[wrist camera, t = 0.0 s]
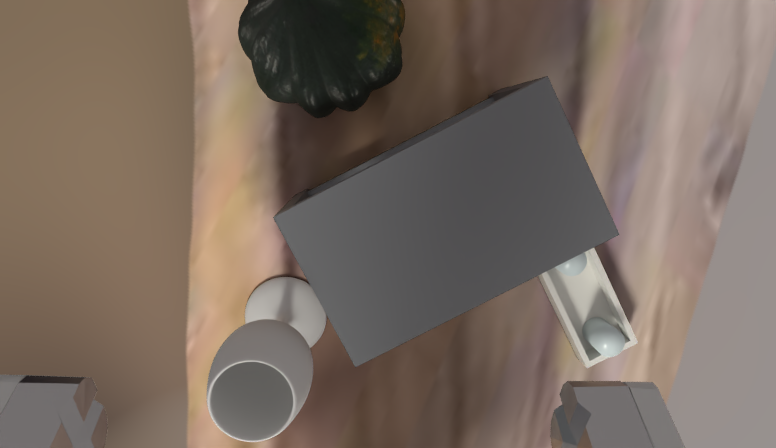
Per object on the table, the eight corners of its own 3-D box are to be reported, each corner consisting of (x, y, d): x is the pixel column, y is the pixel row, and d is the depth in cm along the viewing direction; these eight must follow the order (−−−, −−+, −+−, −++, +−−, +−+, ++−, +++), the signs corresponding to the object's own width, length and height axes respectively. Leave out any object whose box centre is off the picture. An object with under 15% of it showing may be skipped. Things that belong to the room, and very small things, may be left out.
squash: (397, 149, 59) (407, 19, 46) (239, 140, 59) (207, 7, 46) (401, 47, 67) (411, -88, 54) (262, 38, 67) (239, -99, 54)
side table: (557, 208, 66) (619, 234, 50) (357, 310, 67) (355, 367, 51) (501, 88, 64) (547, 76, 48) (294, 195, 65) (273, 217, 49)
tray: (626, 333, 68) (645, 348, 64) (577, 357, 69) (593, 375, 64) (573, 220, 66) (589, 227, 62) (523, 245, 66) (535, 255, 62)
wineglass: (292, 260, 66) (259, 321, 45) (343, 322, 67) (334, 410, 46) (228, 309, 66) (167, 392, 46) (280, 370, 68) (243, 477, 47)
